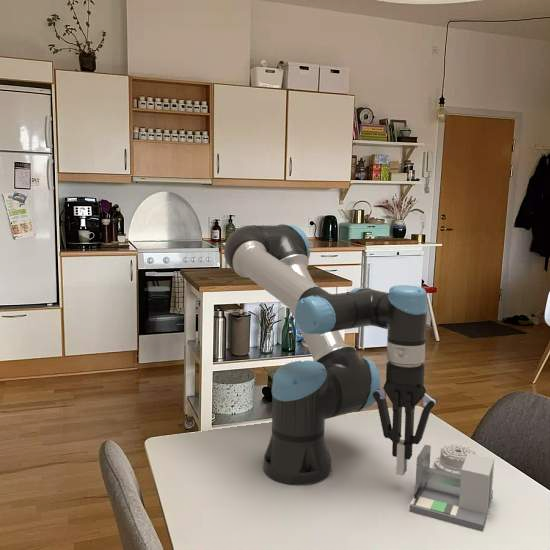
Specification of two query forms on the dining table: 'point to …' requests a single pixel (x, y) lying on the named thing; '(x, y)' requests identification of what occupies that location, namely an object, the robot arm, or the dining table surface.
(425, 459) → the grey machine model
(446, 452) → the mechanical component
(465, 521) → the gauge base
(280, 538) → the dining table surface
